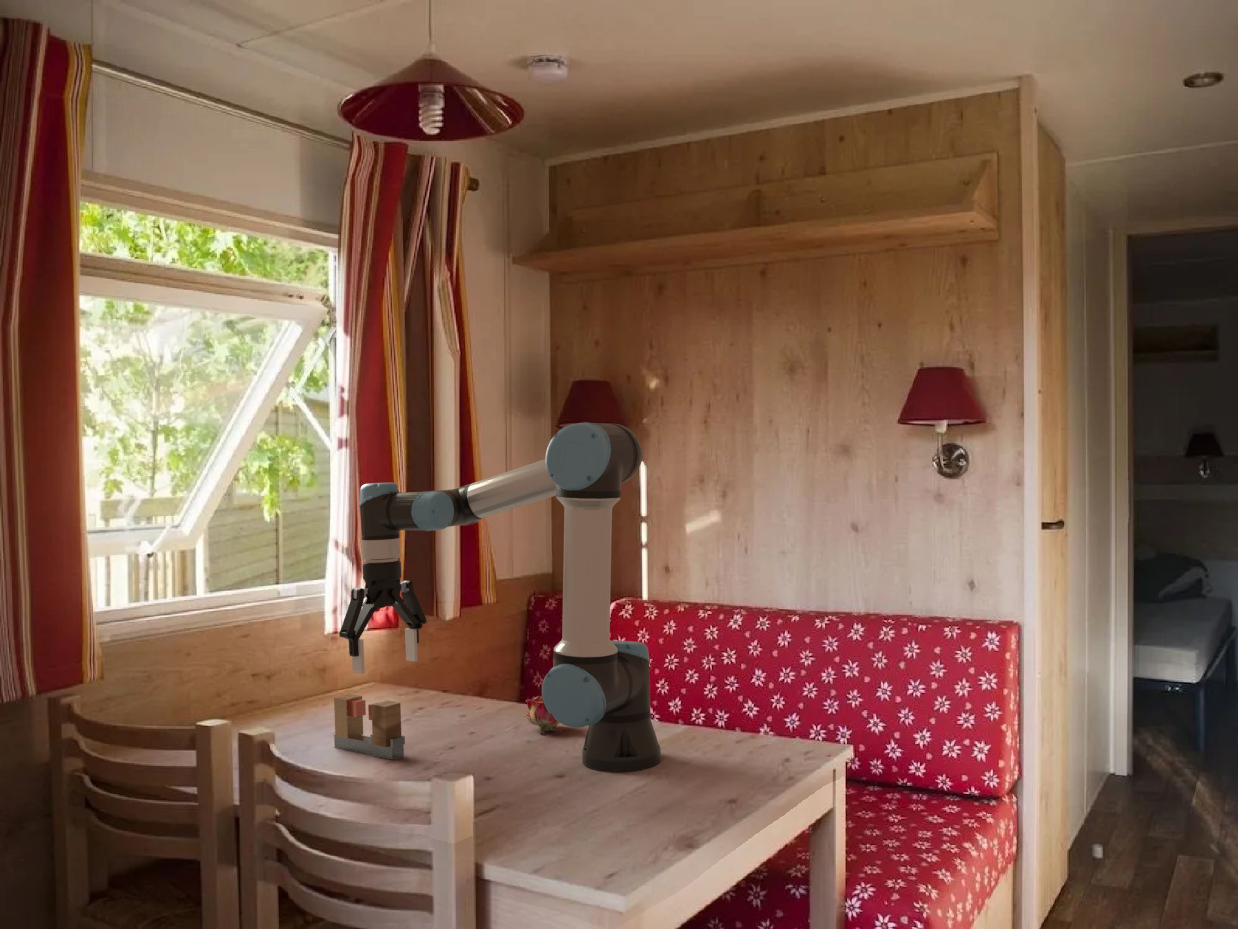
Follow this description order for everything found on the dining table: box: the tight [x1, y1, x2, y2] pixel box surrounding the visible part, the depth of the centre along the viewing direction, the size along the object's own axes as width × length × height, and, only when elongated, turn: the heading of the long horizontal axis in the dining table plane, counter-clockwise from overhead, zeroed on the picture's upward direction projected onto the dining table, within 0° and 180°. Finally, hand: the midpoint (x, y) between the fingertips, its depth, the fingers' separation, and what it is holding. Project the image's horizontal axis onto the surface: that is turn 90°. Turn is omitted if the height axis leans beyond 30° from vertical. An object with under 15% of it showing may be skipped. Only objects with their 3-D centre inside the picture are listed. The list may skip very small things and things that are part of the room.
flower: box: [524, 695, 560, 735], centre depth 237 cm, size 10×9×8 cm
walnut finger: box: [367, 699, 402, 747], centre depth 222 cm, size 6×4×8 cm, turn 52°
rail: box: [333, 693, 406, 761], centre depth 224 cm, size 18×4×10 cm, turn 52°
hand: (385, 666), depth 221 cm, fingers open, 13 cm apart
